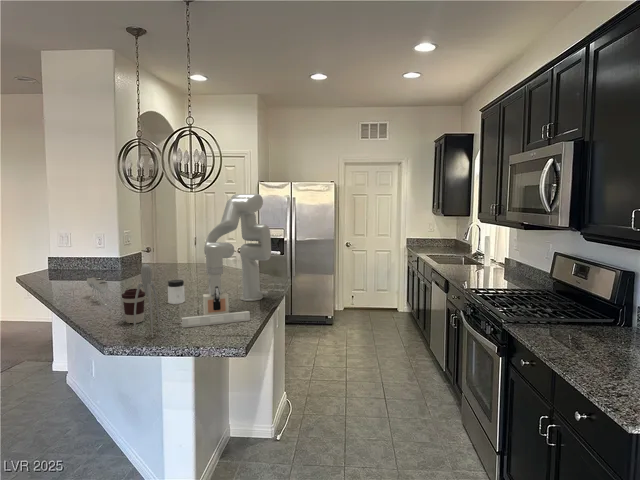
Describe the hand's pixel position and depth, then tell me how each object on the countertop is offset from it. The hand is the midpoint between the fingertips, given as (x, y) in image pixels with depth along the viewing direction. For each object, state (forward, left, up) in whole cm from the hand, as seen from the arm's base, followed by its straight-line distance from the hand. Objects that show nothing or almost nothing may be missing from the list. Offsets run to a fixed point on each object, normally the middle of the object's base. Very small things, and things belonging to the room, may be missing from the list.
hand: (216, 307), depth 206 cm
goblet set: (+57, -64, -5) cm, 86 cm away
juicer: (+31, +14, -5) cm, 35 cm away
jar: (+16, -42, -5) cm, 45 cm away
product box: (0, 0, -4) cm, 4 cm away
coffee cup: (+36, -9, -5) cm, 38 cm away
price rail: (+1, +9, -5) cm, 10 cm away
